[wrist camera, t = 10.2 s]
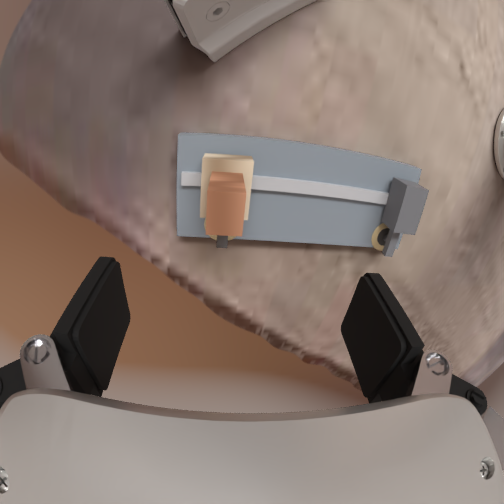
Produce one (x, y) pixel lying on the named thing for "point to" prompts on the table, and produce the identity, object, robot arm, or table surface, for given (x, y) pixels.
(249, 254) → the table surface
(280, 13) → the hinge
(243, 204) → the block
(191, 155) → the gauge board
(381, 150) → the table surface
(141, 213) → the table surface
